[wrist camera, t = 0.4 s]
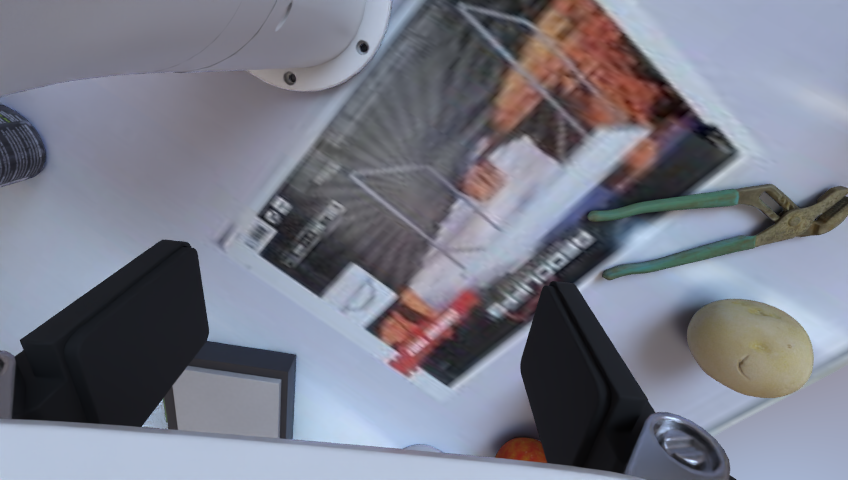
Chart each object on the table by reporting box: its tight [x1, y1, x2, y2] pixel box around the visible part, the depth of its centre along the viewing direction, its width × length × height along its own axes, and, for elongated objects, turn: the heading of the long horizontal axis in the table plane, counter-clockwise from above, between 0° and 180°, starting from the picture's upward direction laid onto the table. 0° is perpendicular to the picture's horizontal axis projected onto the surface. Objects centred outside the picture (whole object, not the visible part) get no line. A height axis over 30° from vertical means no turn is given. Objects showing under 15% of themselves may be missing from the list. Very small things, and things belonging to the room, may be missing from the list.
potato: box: [687, 299, 814, 398], centre depth 32 cm, size 8×8×8 cm
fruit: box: [495, 437, 547, 463], centre depth 40 cm, size 7×7×8 cm
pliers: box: [588, 184, 848, 280], centre depth 31 cm, size 20×6×1 cm, turn 104°
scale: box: [163, 341, 296, 439], centre depth 40 cm, size 14×12×3 cm
